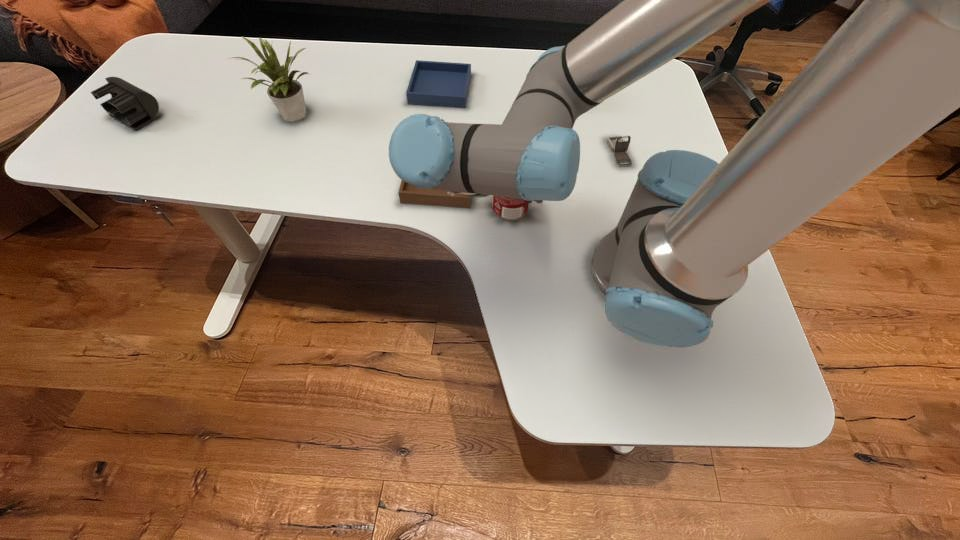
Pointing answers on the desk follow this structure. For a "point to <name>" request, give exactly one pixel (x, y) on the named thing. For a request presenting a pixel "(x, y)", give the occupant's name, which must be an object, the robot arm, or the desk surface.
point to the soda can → (509, 207)
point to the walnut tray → (431, 197)
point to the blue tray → (439, 84)
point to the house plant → (280, 82)
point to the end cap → (127, 103)
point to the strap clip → (620, 149)
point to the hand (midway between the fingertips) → (521, 183)
